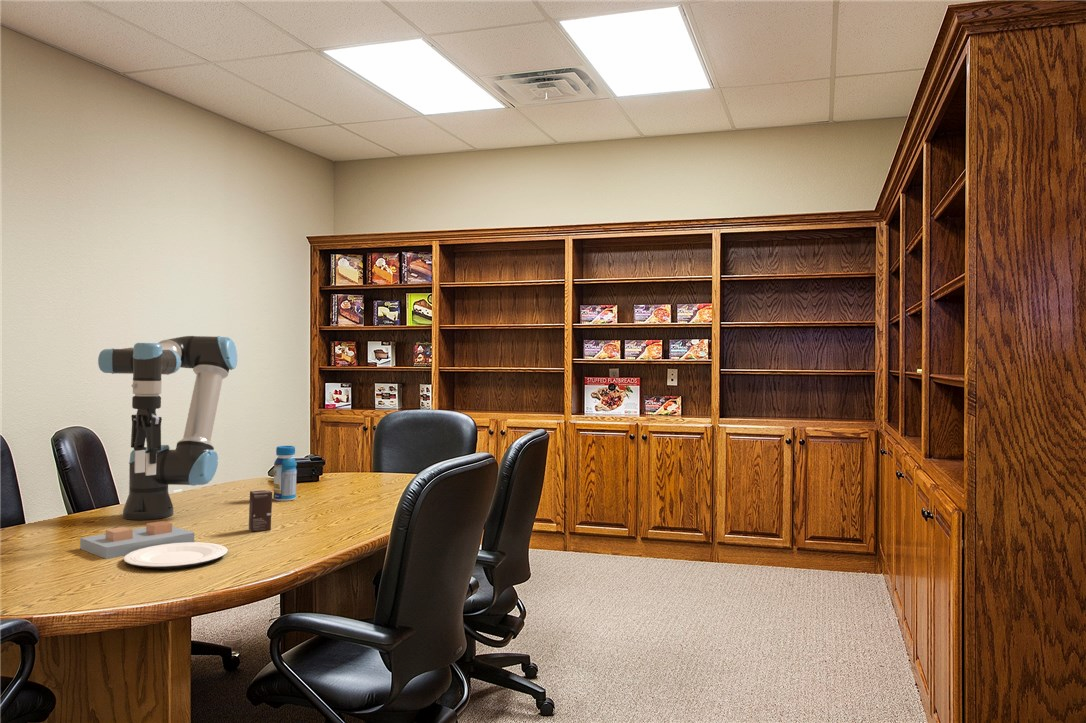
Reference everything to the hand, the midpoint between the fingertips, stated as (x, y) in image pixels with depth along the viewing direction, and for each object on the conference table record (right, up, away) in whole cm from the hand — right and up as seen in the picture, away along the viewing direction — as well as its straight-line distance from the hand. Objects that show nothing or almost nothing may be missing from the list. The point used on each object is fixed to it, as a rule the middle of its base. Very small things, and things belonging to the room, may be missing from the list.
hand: (145, 473), depth 227 cm
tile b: (0, -16, -14) cm, 21 cm away
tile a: (+7, -16, -5) cm, 18 cm away
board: (+3, -19, -10) cm, 21 cm away
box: (+29, -20, +13) cm, 37 cm away
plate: (+20, -20, -23) cm, 36 cm away
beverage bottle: (+19, -19, +65) cm, 71 cm away
